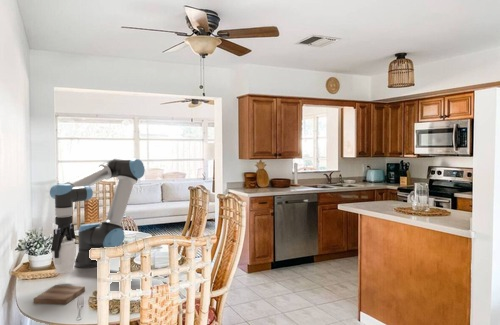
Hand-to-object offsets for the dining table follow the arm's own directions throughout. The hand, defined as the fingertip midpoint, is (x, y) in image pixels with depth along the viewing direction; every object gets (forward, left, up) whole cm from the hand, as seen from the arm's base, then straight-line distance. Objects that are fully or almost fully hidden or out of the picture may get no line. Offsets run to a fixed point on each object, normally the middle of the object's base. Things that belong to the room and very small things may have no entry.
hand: (64, 260), depth 184 cm
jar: (0, 0, -5) cm, 5 cm away
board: (+17, +8, -11) cm, 22 cm away
